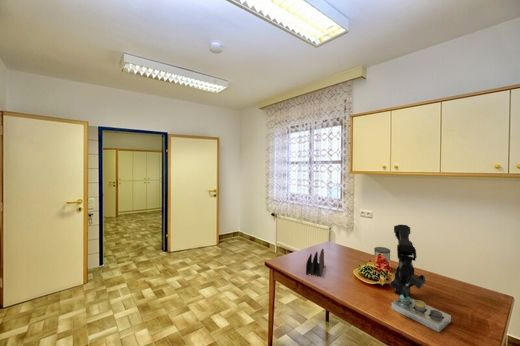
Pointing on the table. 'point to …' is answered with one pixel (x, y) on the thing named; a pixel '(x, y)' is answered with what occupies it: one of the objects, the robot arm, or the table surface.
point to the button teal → (405, 300)
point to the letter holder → (315, 264)
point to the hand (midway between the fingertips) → (405, 297)
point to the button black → (436, 315)
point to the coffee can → (383, 252)
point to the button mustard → (420, 306)
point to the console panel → (422, 315)
